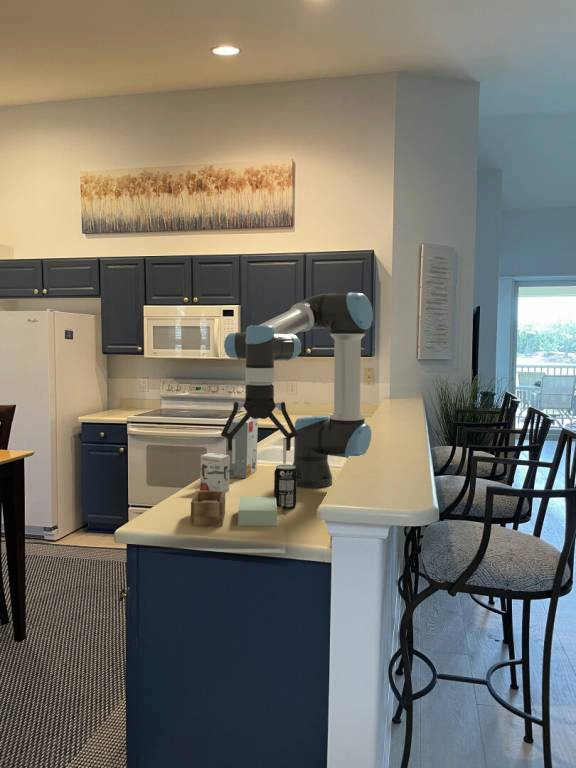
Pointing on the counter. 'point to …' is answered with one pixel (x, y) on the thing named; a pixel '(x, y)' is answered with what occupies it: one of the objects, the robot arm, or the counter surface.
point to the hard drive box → (244, 449)
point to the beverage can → (285, 486)
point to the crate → (208, 509)
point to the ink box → (214, 472)
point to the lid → (257, 511)
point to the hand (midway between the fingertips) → (259, 462)
